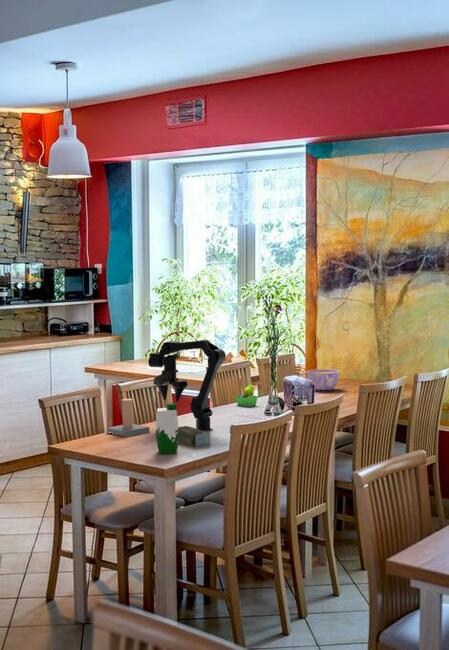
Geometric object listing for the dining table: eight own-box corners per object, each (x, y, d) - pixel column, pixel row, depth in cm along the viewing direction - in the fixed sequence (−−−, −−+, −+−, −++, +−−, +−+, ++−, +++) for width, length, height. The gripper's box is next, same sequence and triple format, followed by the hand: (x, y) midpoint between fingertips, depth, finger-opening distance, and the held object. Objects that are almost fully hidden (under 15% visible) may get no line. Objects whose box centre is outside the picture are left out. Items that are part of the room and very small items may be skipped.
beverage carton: (195, 448, 371) (195, 433, 371) (171, 441, 387) (171, 427, 387) (211, 446, 376) (210, 430, 376) (186, 439, 392) (186, 424, 391)
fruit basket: (234, 405, 482) (233, 384, 481) (245, 403, 488) (245, 383, 487) (248, 407, 474) (248, 386, 473) (260, 405, 480) (260, 384, 479)
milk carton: (178, 454, 360) (177, 405, 359) (156, 455, 359) (155, 406, 358) (178, 449, 369) (177, 402, 368) (156, 450, 368) (155, 403, 367)
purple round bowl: (335, 393, 518) (335, 373, 518) (302, 392, 526) (302, 372, 525) (343, 388, 537) (343, 369, 536) (311, 387, 544) (311, 368, 543)
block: (133, 426, 411) (132, 398, 410) (132, 428, 406) (132, 400, 406) (123, 426, 411) (122, 398, 410) (122, 428, 406) (122, 400, 405)
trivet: (149, 432, 408) (149, 427, 408) (125, 436, 399) (124, 431, 399) (131, 428, 419) (131, 423, 418) (106, 433, 409) (106, 427, 409)
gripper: (144, 368, 418) (145, 400, 419) (169, 371, 404) (170, 404, 405) (162, 365, 425) (163, 398, 427) (187, 368, 412) (188, 402, 413)
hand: (170, 400), depth 418 cm, fingers open, 9 cm apart
